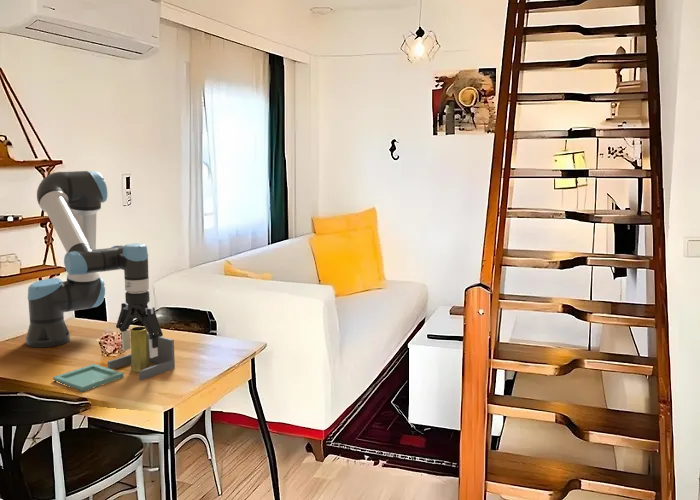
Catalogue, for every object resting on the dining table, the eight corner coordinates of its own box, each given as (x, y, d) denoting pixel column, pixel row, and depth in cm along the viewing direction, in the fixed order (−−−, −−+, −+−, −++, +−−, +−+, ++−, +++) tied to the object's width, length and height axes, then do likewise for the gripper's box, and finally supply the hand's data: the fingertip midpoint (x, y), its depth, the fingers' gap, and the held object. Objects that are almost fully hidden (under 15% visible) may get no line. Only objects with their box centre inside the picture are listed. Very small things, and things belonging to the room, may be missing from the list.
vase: (134, 366, 222) (132, 325, 220) (152, 366, 222) (150, 326, 220) (128, 372, 216) (126, 330, 214) (146, 372, 216) (144, 331, 214)
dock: (108, 370, 218) (106, 341, 217) (141, 358, 230) (140, 331, 228) (141, 380, 209) (140, 350, 208) (174, 368, 221) (173, 339, 219)
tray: (53, 381, 207) (53, 377, 207) (94, 368, 220) (94, 363, 220) (82, 391, 199) (82, 387, 199) (123, 377, 212) (123, 373, 212)
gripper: (103, 288, 218) (106, 349, 222) (153, 298, 205) (156, 363, 208) (121, 284, 224) (124, 343, 228) (172, 293, 211) (174, 356, 215)
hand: (139, 353), depth 218 cm, fingers open, 13 cm apart
